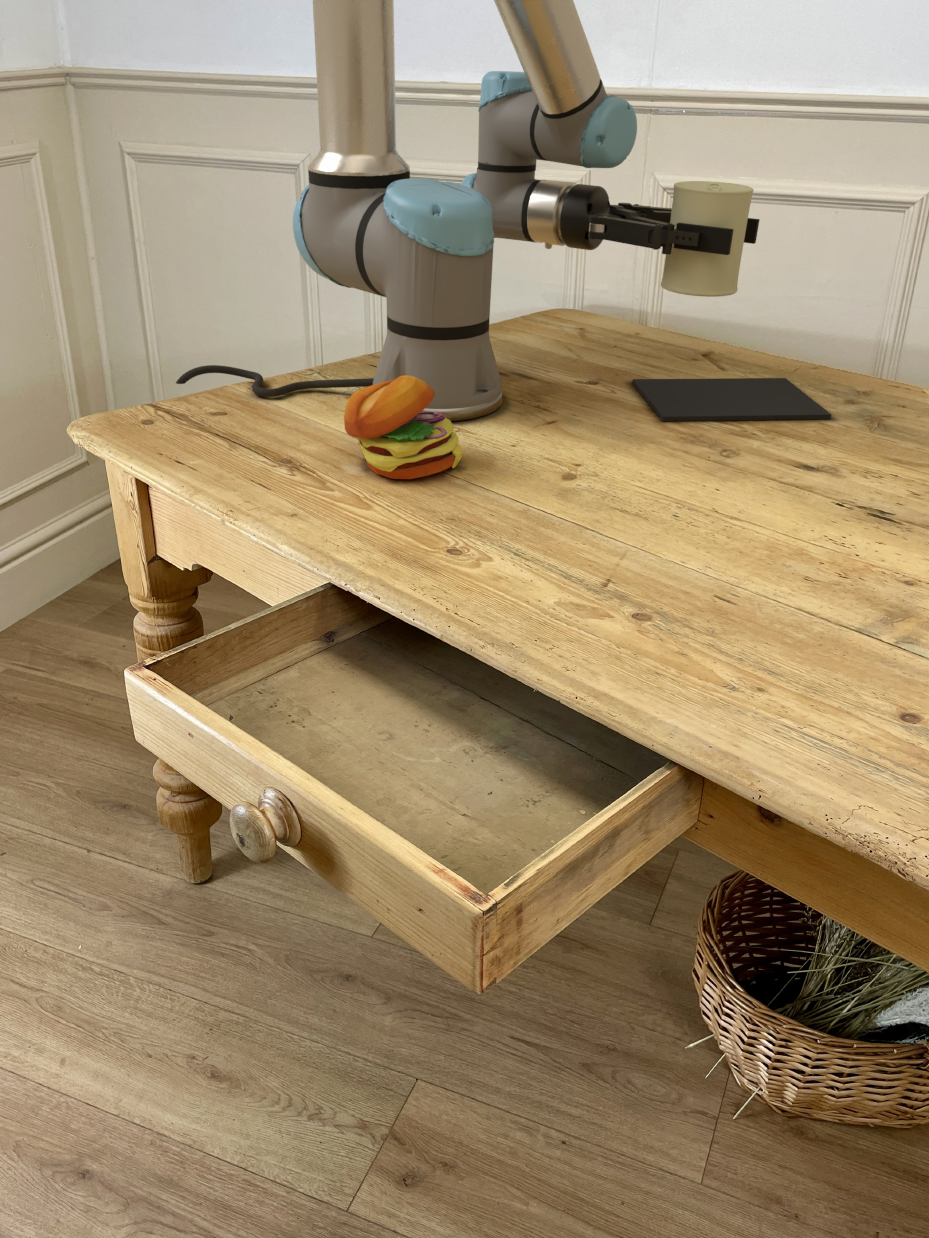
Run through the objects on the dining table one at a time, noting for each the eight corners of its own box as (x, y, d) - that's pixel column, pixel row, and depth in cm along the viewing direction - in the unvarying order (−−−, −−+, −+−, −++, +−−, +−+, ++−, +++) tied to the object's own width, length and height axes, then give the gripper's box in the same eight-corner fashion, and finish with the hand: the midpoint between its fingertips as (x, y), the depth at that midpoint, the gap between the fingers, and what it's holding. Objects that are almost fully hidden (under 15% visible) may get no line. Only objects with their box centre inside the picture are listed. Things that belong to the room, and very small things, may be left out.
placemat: (662, 421, 113) (663, 416, 113) (631, 383, 125) (632, 379, 124) (830, 419, 115) (831, 414, 115) (784, 382, 127) (785, 377, 127)
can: (661, 294, 118) (675, 184, 112) (659, 278, 126) (672, 175, 120) (740, 299, 117) (759, 188, 111) (733, 283, 125) (750, 179, 119)
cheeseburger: (464, 485, 95) (440, 386, 90) (357, 506, 96) (327, 410, 91) (465, 446, 104) (444, 353, 99) (367, 466, 105) (340, 376, 100)
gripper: (603, 236, 136) (766, 257, 126) (528, 259, 120) (707, 285, 110) (609, 176, 132) (777, 193, 122) (532, 192, 116) (717, 212, 106)
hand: (743, 236), depth 116 cm, fingers closed on can, 9 cm apart
